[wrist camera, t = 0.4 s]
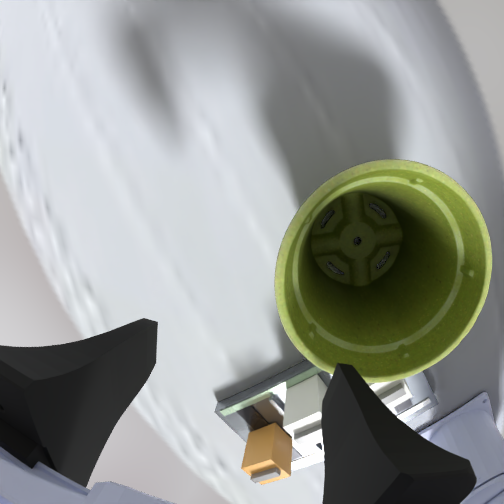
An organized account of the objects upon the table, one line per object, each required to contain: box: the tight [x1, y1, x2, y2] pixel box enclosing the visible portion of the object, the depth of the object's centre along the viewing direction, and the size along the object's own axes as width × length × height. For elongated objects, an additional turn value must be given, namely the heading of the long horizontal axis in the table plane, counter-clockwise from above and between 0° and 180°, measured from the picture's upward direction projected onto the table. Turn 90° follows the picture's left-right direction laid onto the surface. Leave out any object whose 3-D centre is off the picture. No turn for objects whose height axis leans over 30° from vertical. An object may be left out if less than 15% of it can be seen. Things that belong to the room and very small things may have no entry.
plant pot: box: [275, 159, 492, 383], centre depth 15 cm, size 9×9×9 cm
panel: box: [215, 359, 438, 472], centre depth 22 cm, size 10×15×2 cm, turn 126°
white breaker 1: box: [283, 374, 328, 448], centre depth 19 cm, size 3×3×4 cm
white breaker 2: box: [367, 378, 413, 409], centre depth 18 cm, size 3×3×4 cm
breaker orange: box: [241, 422, 293, 485], centre depth 21 cm, size 3×3×4 cm
